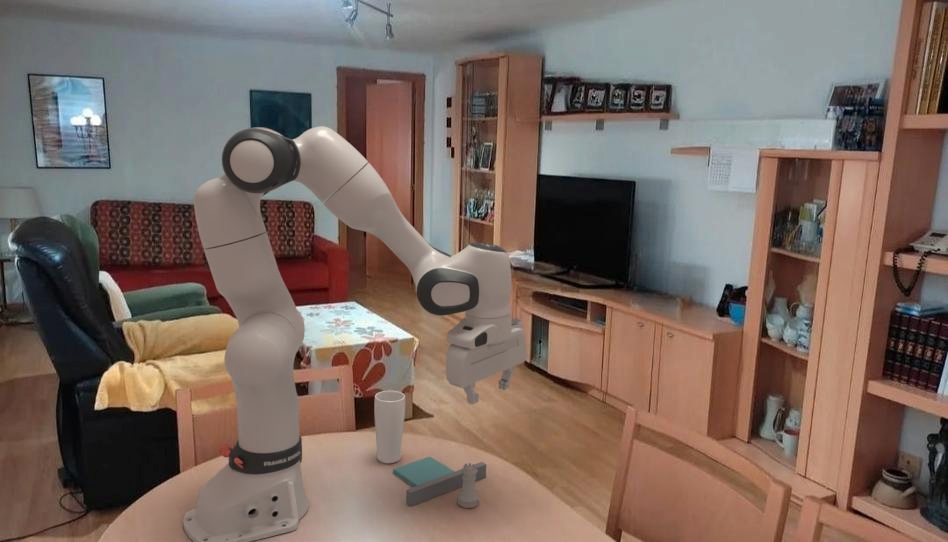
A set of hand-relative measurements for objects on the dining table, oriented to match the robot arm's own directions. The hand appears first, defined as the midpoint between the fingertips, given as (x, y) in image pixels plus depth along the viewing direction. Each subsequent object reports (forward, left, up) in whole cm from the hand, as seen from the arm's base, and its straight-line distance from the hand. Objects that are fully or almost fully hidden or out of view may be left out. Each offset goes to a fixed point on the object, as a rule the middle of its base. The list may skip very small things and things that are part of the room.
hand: (488, 395), depth 135 cm
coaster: (-3, +15, -22) cm, 27 cm away
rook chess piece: (-3, +1, -23) cm, 23 cm away
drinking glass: (-5, +26, -23) cm, 35 cm away
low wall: (-3, +8, -22) cm, 24 cm away
